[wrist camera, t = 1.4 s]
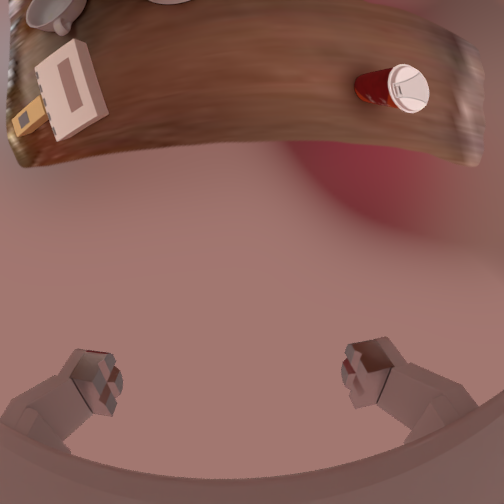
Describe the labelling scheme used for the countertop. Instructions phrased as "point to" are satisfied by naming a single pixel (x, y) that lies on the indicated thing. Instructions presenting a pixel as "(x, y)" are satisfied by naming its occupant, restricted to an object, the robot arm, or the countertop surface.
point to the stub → (30, 117)
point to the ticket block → (70, 90)
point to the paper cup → (394, 88)
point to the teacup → (54, 14)
